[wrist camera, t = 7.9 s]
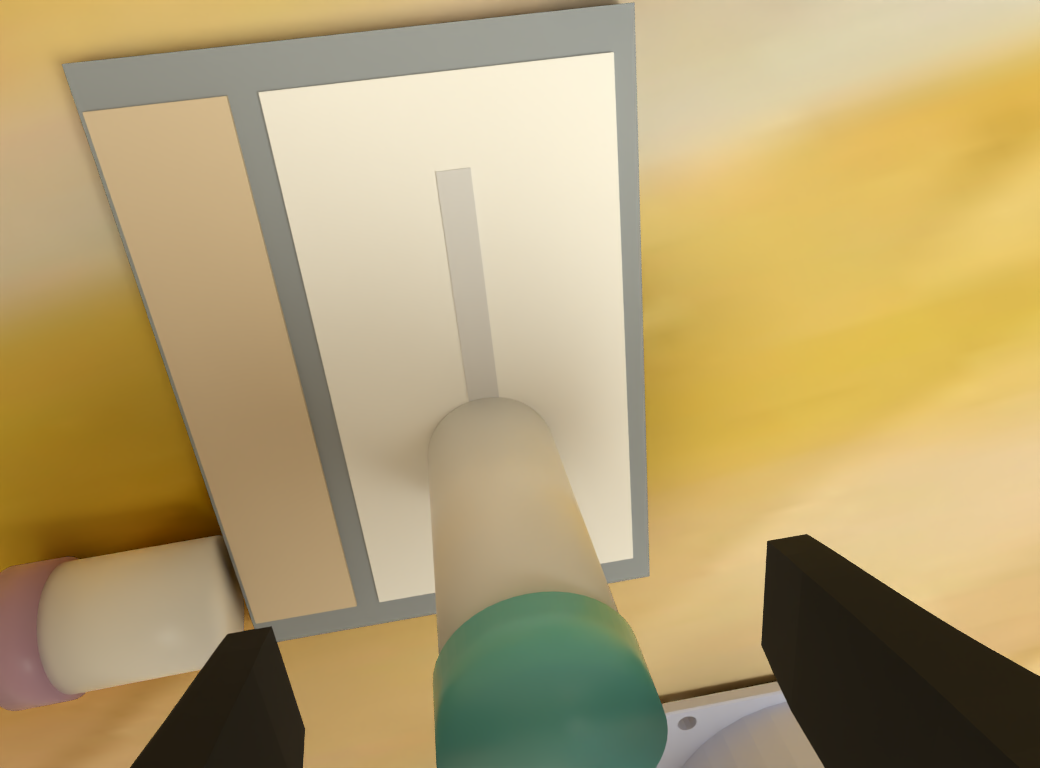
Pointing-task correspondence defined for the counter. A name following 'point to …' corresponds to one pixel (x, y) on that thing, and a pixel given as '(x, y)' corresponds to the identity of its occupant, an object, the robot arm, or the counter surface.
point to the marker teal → (526, 609)
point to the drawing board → (384, 281)
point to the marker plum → (113, 619)
